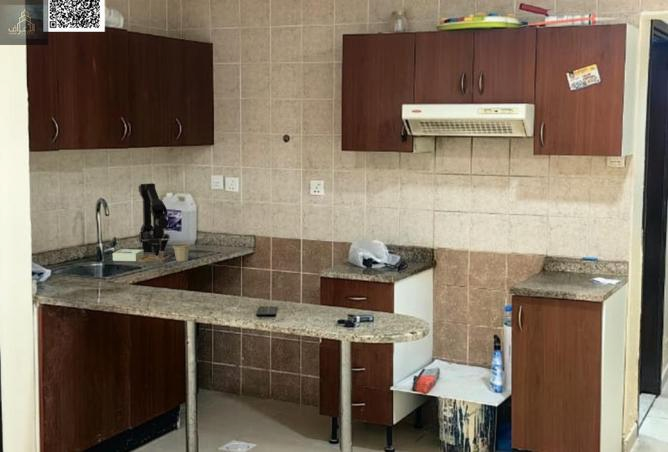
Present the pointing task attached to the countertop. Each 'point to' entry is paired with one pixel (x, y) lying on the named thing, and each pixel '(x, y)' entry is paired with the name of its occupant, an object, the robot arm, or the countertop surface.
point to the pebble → (160, 255)
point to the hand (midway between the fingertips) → (159, 254)
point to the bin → (128, 255)
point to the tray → (153, 258)
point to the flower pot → (181, 251)
